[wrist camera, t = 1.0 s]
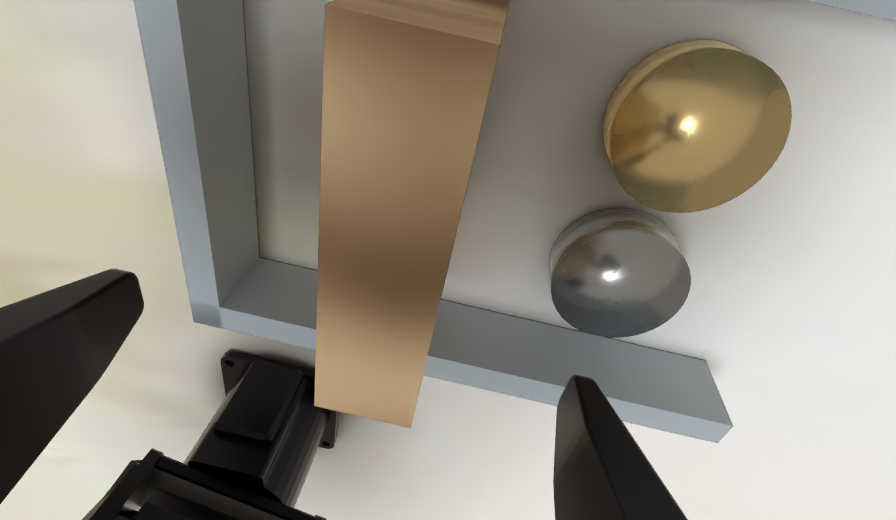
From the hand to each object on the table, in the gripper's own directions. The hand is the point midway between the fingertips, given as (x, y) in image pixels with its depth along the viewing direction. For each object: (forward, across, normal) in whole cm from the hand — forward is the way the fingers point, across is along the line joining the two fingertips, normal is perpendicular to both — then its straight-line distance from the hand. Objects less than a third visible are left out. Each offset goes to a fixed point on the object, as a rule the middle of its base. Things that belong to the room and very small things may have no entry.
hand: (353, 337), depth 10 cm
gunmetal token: (+10, -8, +3) cm, 13 cm away
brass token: (+10, -8, -3) cm, 13 cm away
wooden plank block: (+10, 0, 0) cm, 10 cm away
